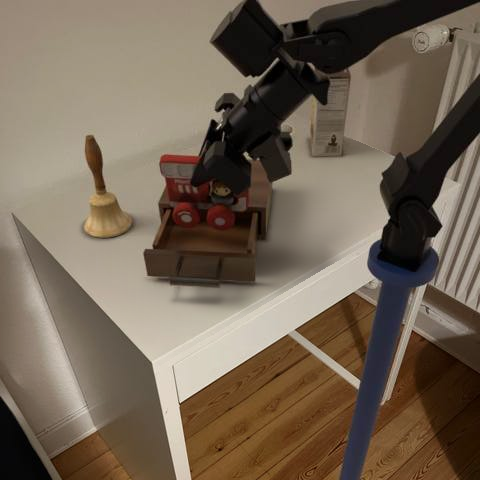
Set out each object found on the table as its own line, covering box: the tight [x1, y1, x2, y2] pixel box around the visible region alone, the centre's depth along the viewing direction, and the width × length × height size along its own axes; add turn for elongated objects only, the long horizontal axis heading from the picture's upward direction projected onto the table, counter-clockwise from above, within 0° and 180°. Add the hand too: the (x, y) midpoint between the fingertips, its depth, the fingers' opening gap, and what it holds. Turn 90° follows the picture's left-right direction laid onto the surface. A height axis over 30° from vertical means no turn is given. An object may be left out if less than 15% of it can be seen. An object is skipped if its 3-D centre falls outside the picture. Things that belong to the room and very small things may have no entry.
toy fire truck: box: [158, 153, 249, 231], centre depth 73 cm, size 7×12×10 cm, turn 83°
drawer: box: [143, 208, 260, 289], centre depth 78 cm, size 20×16×4 cm
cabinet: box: [157, 158, 274, 240], centre depth 89 cm, size 17×18×6 cm
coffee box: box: [309, 67, 352, 157], centre depth 104 cm, size 9×6×16 cm
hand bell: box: [83, 134, 133, 239], centre depth 83 cm, size 8×8×16 cm
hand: (193, 180), depth 72 cm, fingers closed on toy fire truck, 2 cm apart
